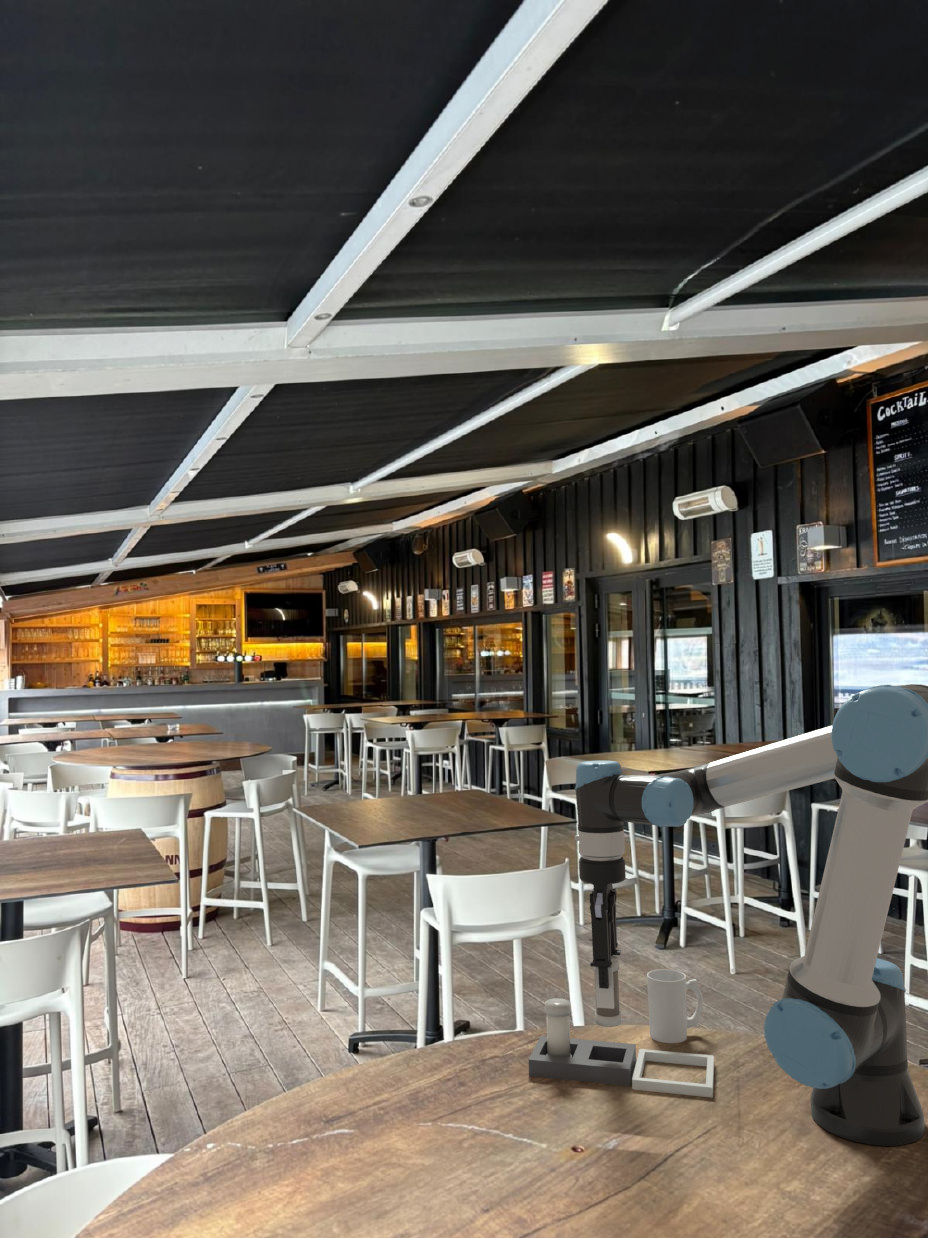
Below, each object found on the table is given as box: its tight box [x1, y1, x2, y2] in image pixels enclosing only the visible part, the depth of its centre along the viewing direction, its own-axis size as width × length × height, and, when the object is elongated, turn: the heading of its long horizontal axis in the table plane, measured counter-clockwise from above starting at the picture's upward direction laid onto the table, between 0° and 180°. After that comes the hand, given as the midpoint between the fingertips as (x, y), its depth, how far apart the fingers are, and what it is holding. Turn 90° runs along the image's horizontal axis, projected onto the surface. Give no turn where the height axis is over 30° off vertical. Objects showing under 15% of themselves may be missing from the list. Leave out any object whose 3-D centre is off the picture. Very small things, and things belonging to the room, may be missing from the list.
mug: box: [646, 968, 704, 1044], centre depth 163 cm, size 10×7×12 cm, turn 99°
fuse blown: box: [592, 955, 622, 1028], centre depth 150 cm, size 4×4×10 cm
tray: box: [631, 1048, 715, 1098], centre depth 146 cm, size 12×12×3 cm
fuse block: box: [528, 1035, 637, 1087], centre depth 150 cm, size 16×10×4 cm, turn 74°
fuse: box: [544, 997, 572, 1058], centre depth 151 cm, size 4×4×10 cm
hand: (607, 1002), depth 149 cm, fingers closed on fuse blown, 4 cm apart
